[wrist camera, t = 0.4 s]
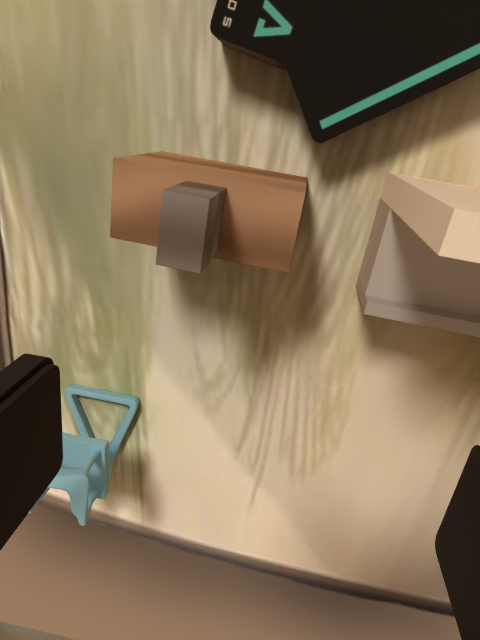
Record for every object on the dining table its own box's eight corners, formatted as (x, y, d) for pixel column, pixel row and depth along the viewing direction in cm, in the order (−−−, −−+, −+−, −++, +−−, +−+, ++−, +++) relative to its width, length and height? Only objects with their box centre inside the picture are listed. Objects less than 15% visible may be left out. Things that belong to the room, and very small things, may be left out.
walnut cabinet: (162, 151, 37) (74, 163, 23) (307, 177, 36) (303, 206, 22) (157, 212, 39) (73, 256, 25) (294, 238, 38) (284, 299, 24)
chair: (71, 445, 51) (5, 532, 40) (69, 382, 47) (-5, 459, 36) (137, 458, 50) (88, 551, 39) (139, 396, 47) (86, 479, 36)
